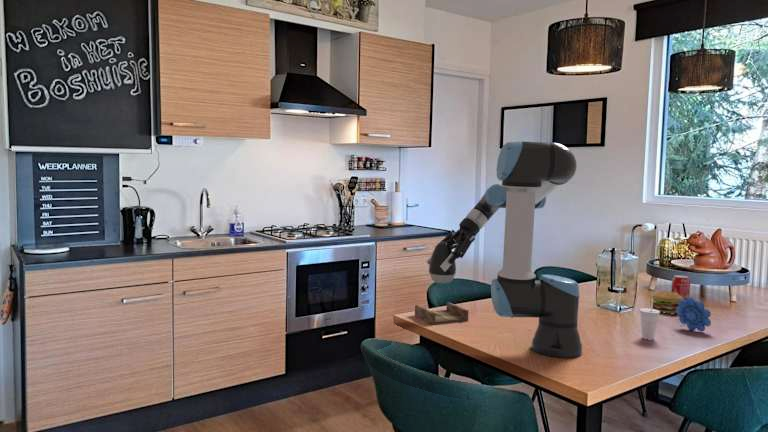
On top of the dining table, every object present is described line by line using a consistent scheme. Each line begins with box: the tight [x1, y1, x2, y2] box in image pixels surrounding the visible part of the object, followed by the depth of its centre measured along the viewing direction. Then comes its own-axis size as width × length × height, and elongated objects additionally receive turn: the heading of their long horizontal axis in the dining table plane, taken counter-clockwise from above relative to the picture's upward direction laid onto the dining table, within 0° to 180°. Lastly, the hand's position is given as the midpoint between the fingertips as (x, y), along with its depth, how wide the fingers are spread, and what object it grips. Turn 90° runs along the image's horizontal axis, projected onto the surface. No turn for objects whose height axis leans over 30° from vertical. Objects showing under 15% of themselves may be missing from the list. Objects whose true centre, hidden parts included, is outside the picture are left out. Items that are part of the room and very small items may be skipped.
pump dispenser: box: [428, 241, 457, 284], centre depth 212 cm, size 10×10×15 cm
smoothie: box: [639, 297, 661, 341], centre depth 193 cm, size 6×6×14 cm
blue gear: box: [676, 296, 712, 332], centre depth 203 cm, size 12×7×12 cm, turn 46°
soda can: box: [670, 274, 691, 301], centre depth 247 cm, size 7×7×12 cm
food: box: [649, 290, 682, 314], centre depth 233 cm, size 14×14×8 cm
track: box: [414, 301, 469, 326], centre depth 213 cm, size 14×15×4 cm
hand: (435, 266), depth 211 cm, fingers closed on pump dispenser, 10 cm apart
